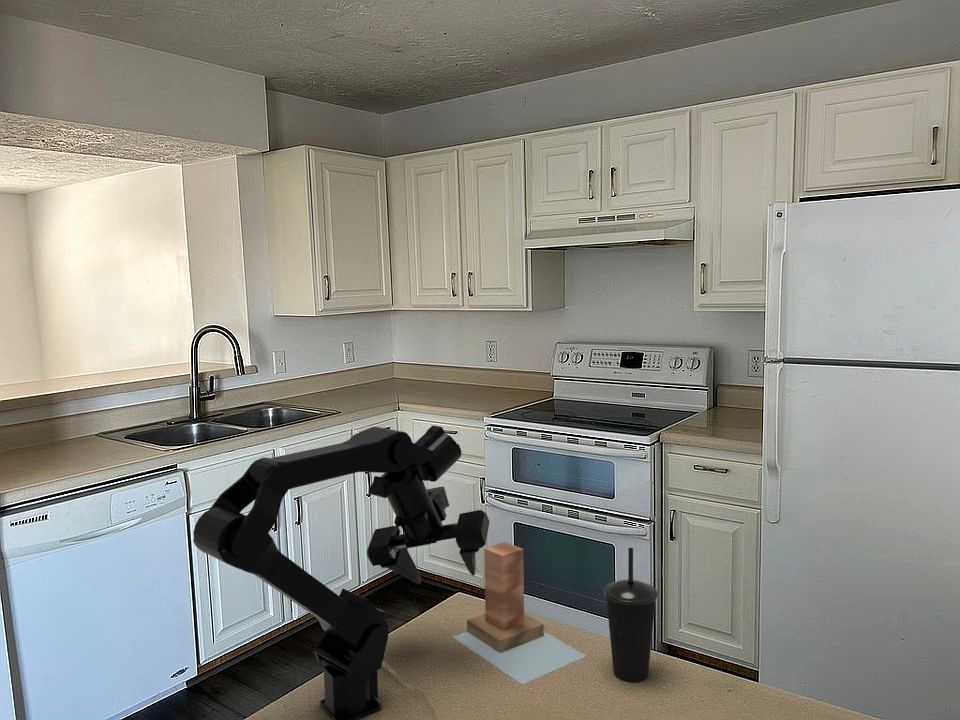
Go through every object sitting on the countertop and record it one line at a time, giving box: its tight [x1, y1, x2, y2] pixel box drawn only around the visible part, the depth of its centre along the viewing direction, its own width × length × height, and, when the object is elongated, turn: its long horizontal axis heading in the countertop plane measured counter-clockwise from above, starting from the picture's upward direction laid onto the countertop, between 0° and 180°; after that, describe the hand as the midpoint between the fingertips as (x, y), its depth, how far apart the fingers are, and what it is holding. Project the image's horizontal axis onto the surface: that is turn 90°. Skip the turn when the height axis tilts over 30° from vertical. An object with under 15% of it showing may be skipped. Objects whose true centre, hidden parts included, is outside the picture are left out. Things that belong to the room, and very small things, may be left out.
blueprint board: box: [452, 631, 588, 685], centre depth 115 cm, size 13×18×1 cm
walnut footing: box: [466, 613, 545, 653], centre depth 119 cm, size 9×9×2 cm
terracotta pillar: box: [483, 541, 525, 631], centre depth 118 cm, size 4×4×12 cm
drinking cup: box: [603, 547, 659, 684], centre depth 105 cm, size 8×8×20 cm
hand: (446, 577), depth 113 cm, fingers open, 9 cm apart
